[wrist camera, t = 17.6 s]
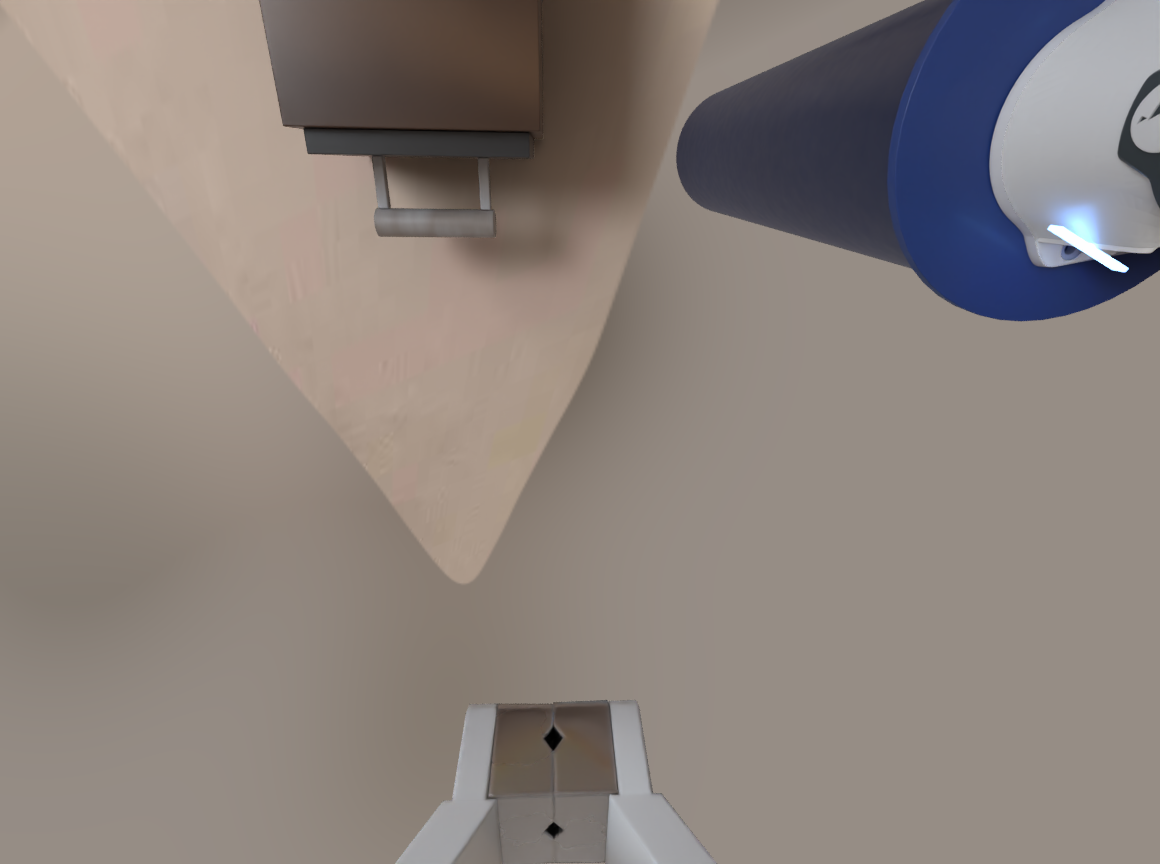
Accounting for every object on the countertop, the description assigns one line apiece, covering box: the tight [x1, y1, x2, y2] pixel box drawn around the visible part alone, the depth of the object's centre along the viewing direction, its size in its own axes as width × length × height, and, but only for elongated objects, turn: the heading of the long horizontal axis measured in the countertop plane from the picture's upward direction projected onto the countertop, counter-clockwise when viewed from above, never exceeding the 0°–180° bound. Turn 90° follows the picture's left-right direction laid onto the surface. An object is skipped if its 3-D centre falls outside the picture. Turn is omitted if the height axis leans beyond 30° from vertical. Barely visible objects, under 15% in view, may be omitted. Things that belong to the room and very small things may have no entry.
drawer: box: [304, 128, 534, 238], centre depth 31 cm, size 18×12×8 cm, turn 179°
